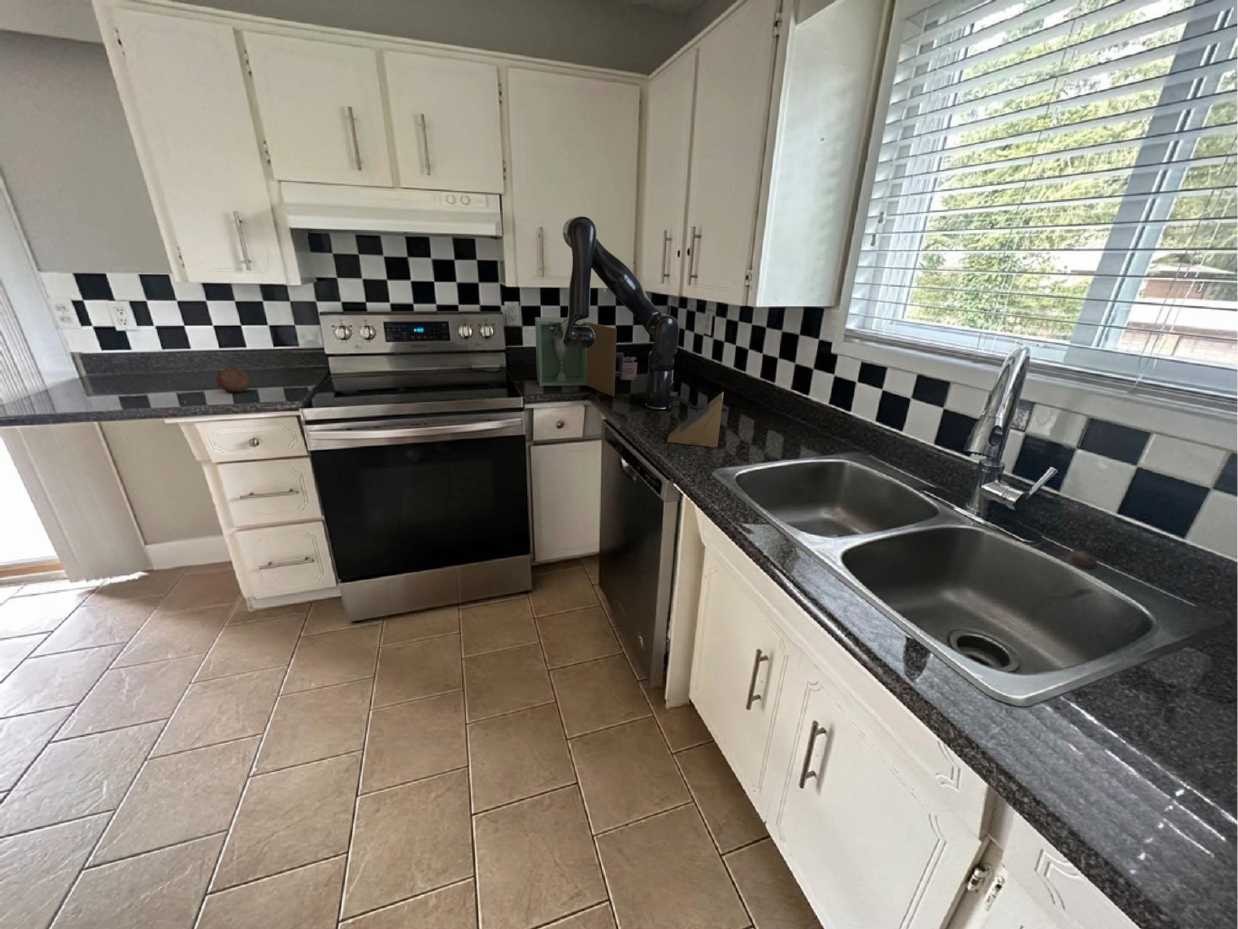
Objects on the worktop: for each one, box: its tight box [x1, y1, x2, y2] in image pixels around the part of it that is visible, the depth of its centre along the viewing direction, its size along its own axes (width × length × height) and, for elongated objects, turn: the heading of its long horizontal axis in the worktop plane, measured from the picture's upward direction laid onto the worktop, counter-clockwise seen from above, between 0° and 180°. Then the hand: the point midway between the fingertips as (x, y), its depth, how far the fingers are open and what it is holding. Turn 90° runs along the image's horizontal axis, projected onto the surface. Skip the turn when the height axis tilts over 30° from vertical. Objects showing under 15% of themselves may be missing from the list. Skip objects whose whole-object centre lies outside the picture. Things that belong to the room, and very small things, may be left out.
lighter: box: [618, 356, 638, 381], centre depth 226 cm, size 8×3×10 cm, turn 104°
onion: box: [215, 366, 249, 394], centre depth 184 cm, size 10×9×10 cm
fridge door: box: [586, 321, 624, 397], centre depth 202 cm, size 6×20×26 cm, turn 33°
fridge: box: [534, 316, 589, 387], centre depth 213 cm, size 14×20×26 cm
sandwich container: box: [666, 391, 724, 448], centre depth 151 cm, size 9×15×15 cm, turn 78°
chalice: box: [553, 336, 569, 381], centre depth 214 cm, size 7×7×18 cm
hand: (565, 324), depth 196 cm, fingers open, 8 cm apart
